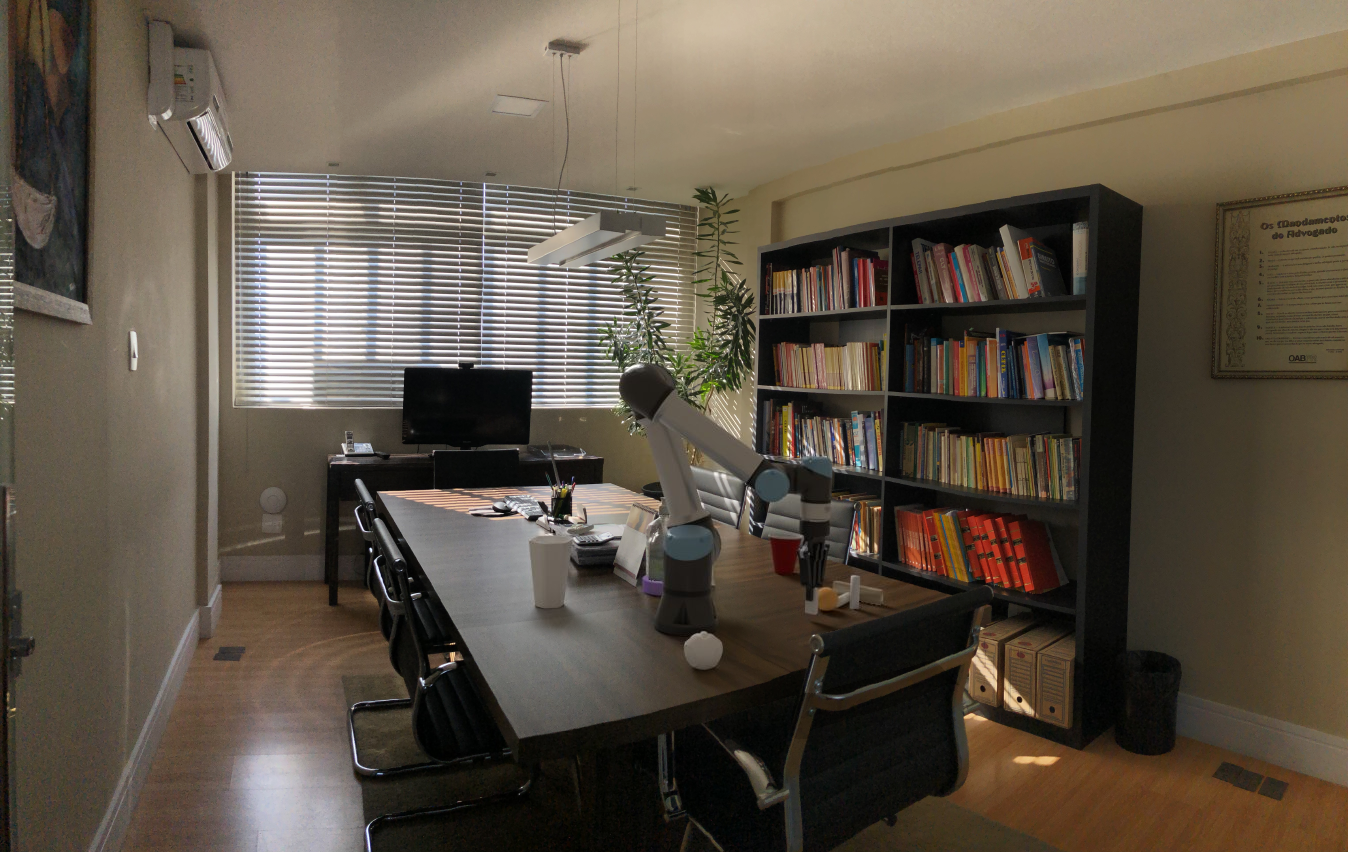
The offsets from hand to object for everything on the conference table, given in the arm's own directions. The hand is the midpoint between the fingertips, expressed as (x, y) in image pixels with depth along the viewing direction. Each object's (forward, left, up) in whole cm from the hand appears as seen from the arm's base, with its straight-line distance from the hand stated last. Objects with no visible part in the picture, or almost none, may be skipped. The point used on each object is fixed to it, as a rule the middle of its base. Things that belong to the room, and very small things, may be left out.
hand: (811, 612), depth 200 cm
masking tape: (-15, +42, -2) cm, 45 cm away
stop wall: (+25, +7, -2) cm, 26 cm away
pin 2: (+18, +2, -2) cm, 18 cm away
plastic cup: (+30, +40, -2) cm, 50 cm away
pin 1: (+14, +5, -1) cm, 15 cm away
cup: (-49, +45, -2) cm, 67 cm away
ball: (+10, +4, +1) cm, 11 cm away
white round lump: (-44, -12, -2) cm, 46 cm away
